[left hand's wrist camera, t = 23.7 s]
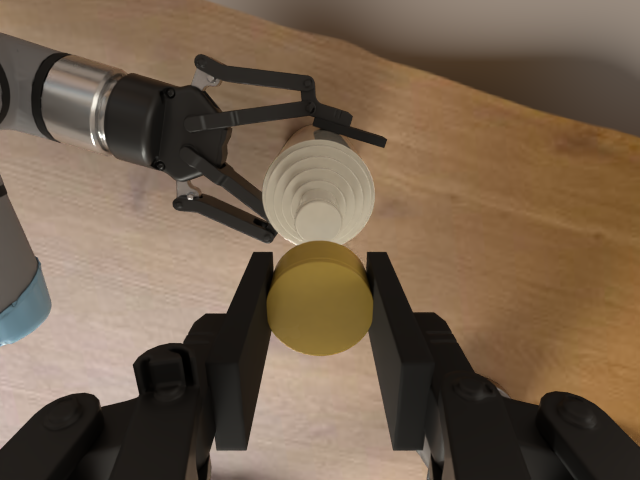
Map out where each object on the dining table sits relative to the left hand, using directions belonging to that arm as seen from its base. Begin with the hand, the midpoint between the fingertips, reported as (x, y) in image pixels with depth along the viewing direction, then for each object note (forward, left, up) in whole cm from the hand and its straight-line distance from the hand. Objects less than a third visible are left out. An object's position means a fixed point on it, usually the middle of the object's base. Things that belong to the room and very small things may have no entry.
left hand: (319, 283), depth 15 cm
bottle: (0, 0, -27) cm, 27 cm away
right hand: (-4, -1, -21) cm, 21 cm away
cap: (0, 0, +2) cm, 2 cm away
